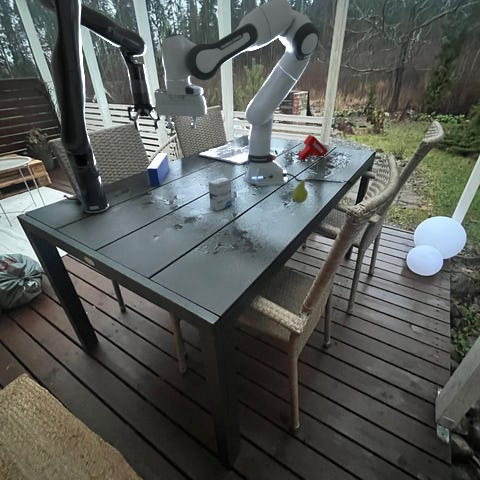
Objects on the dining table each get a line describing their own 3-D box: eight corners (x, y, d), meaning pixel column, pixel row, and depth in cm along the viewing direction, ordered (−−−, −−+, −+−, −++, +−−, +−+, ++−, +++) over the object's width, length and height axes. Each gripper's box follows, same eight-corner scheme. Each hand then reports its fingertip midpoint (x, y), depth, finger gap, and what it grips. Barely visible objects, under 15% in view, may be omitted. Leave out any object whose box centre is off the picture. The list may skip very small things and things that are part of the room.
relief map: (240, 164, 168) (240, 156, 165) (199, 155, 186) (198, 147, 183) (263, 154, 186) (264, 146, 184) (224, 147, 204) (224, 140, 201)
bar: (161, 169, 162) (158, 153, 157) (169, 169, 162) (166, 153, 157) (150, 186, 139) (147, 168, 134) (159, 186, 139) (156, 168, 134)
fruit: (288, 200, 123) (290, 174, 116) (302, 197, 125) (305, 172, 119) (296, 206, 118) (299, 179, 111) (310, 203, 120) (314, 177, 114)
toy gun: (299, 156, 169) (313, 135, 166) (294, 155, 172) (308, 134, 169) (314, 170, 180) (328, 150, 177) (310, 169, 183) (323, 149, 180)
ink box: (224, 201, 122) (223, 176, 116) (231, 205, 119) (231, 179, 113) (209, 207, 117) (207, 181, 111) (217, 211, 114) (215, 184, 108)
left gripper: (121, 92, 116) (129, 132, 125) (154, 91, 116) (161, 131, 125) (126, 90, 122) (134, 129, 131) (158, 90, 123) (164, 128, 131)
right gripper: (149, 89, 101) (155, 128, 108) (200, 89, 96) (203, 131, 103) (157, 87, 106) (163, 125, 113) (206, 88, 101) (209, 127, 109)
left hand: (147, 130), depth 128 cm, fingers open, 8 cm apart
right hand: (182, 128), depth 108 cm, fingers open, 8 cm apart
